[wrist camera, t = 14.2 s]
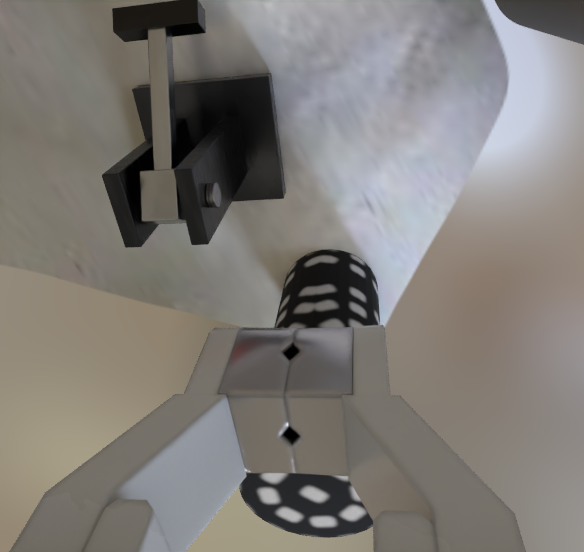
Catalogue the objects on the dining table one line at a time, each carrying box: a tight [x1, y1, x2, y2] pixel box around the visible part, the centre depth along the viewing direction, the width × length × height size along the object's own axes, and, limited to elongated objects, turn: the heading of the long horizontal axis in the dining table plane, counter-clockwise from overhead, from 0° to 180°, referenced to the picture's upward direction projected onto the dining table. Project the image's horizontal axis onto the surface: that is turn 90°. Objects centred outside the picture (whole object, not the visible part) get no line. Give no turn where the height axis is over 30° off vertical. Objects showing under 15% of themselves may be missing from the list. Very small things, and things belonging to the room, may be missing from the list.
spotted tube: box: [239, 250, 380, 537], centre depth 34 cm, size 8×8×20 cm
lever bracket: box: [102, 73, 286, 248], centre depth 31 cm, size 9×10×13 cm
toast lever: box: [112, 0, 206, 224], centre depth 27 cm, size 12×5×2 cm
